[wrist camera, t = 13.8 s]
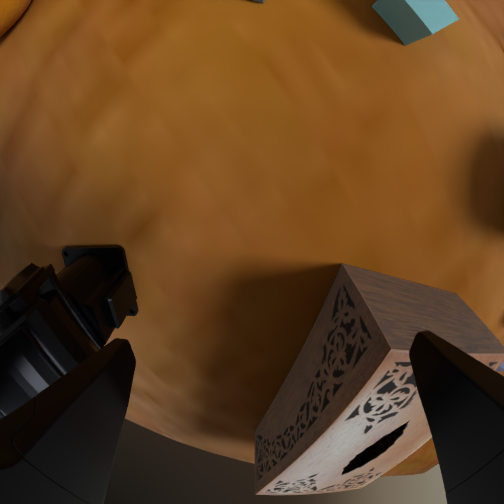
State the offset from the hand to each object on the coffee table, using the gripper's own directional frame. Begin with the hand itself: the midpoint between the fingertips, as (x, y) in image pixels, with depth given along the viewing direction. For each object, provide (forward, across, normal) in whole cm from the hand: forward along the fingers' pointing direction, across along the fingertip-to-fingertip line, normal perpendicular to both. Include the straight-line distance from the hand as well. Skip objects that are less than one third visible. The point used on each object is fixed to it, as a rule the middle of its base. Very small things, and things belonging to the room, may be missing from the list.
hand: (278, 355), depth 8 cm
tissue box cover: (+14, -10, +18) cm, 25 cm away
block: (+13, -11, -17) cm, 24 cm away
